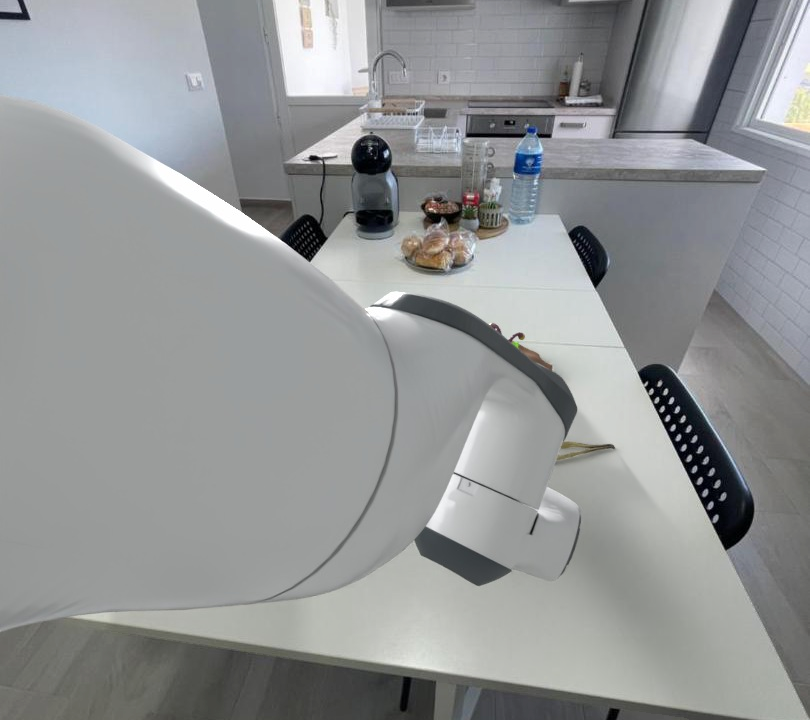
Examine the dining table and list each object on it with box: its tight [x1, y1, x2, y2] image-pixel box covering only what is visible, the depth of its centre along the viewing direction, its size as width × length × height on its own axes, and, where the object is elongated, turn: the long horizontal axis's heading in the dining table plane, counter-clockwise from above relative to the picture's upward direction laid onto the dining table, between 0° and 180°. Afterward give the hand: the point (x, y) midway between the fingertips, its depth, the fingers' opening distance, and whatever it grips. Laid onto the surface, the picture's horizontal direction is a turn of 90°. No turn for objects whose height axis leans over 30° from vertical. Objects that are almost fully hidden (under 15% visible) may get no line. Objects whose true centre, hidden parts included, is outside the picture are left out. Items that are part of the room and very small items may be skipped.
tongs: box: [556, 441, 616, 461], centre depth 74 cm, size 4×13×2 cm, turn 100°
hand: (320, 431), depth 54 cm, fingers closed on soda can, 5 cm apart
